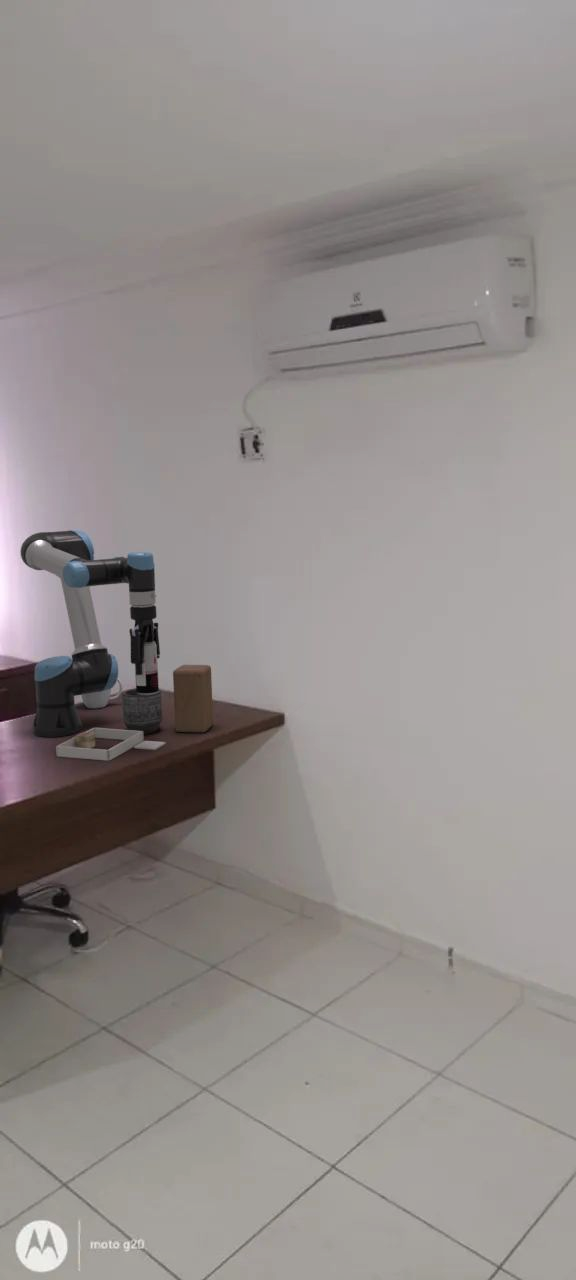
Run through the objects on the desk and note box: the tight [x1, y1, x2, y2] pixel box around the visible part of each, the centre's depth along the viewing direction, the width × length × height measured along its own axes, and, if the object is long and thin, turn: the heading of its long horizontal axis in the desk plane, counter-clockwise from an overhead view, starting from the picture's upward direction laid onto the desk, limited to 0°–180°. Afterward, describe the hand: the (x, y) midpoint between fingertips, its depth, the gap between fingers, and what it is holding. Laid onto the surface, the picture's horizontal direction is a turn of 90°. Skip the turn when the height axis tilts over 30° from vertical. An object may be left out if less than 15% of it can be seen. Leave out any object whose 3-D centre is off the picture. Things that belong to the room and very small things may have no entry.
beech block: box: [75, 732, 96, 749], centre depth 276 cm, size 4×4×4 cm
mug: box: [80, 677, 123, 709], centre depth 327 cm, size 15×11×13 cm
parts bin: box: [55, 727, 145, 761], centre depth 275 cm, size 17×21×3 cm
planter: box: [121, 687, 163, 735], centre depth 293 cm, size 12×12×13 cm
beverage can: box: [134, 641, 160, 695], centre depth 272 cm, size 7×7×15 cm
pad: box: [133, 740, 167, 751], centre depth 276 cm, size 7×7×1 cm
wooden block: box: [172, 664, 214, 734], centre depth 293 cm, size 10×10×20 cm
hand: (147, 682), depth 273 cm, fingers closed on beverage can, 6 cm apart
